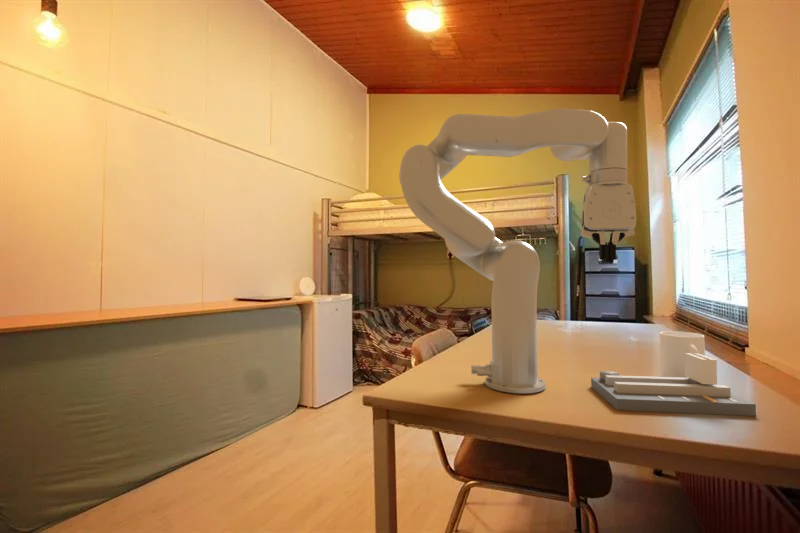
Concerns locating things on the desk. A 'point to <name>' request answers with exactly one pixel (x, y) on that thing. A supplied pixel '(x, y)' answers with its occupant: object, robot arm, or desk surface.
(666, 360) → the mug
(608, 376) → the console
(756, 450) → the desk surface
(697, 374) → the fader
